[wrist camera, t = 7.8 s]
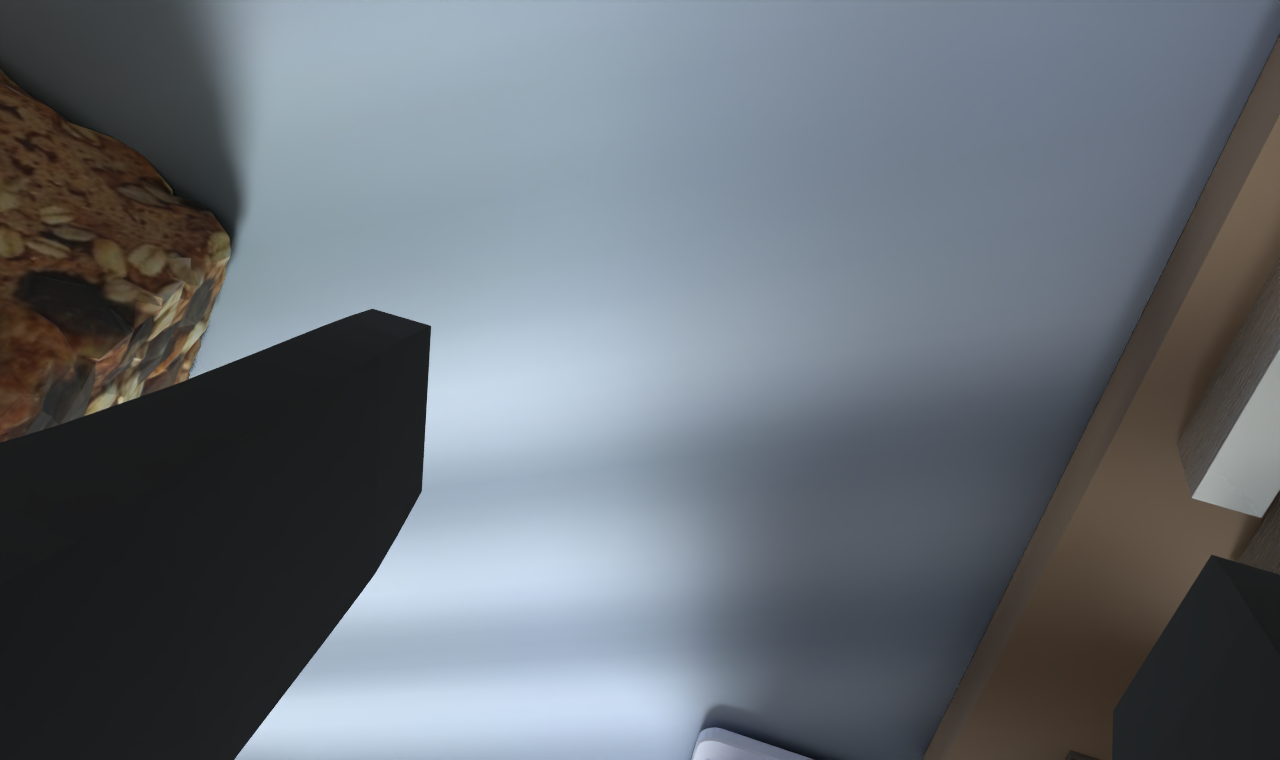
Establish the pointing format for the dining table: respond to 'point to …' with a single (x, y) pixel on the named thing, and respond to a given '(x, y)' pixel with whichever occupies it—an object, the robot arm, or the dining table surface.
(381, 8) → the dining table surface
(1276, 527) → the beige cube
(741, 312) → the dining table surface
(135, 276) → the bread
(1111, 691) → the press base
